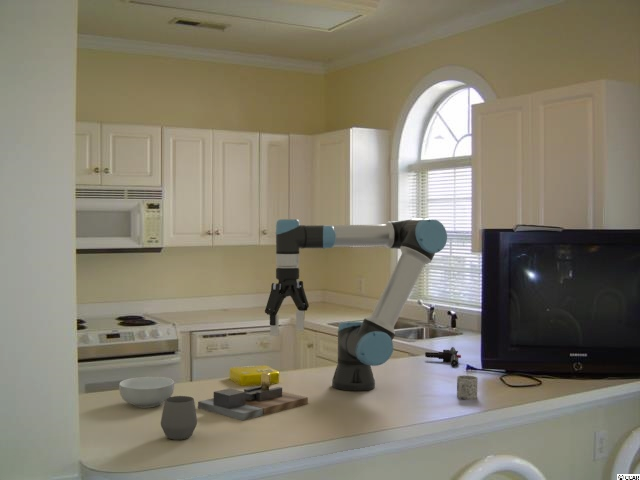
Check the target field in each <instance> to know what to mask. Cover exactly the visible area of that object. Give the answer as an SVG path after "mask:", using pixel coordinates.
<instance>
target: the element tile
mask: <svg viewBox="0 0 640 480" xmlns="http://www.w3.org/2000/svg"><path fill="white" fill-rule="evenodd" d="M262 373H270V385H274V384H279V383H280V371H278V370H276V369H274V368H272V367H270V366H268V365H265V364H263V365H247V366H235V367H234V366H233V367H230V368H229V380H230V381H232V382H234V383H235V384H237V385H238V386H241V387H248V386H249V387H250V386H252V387H253V386H261V374H262Z"/></svg>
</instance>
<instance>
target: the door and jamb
mask: <svg viewBox="0 0 640 480" xmlns="http://www.w3.org/2000/svg"><path fill="white" fill-rule="evenodd" d="M213 399H214V397H213V398H208V399H204V400H199V401H197V408H198V409H200V410H202V411H203V410H204V411H207V412H211V413H214V414H219V415H222V416H225V417H229V418H233V419H236V420H241V421H246V420H249V419H254V418H258V417H261V416H266V415H269V414H273V413H276V412H277V413H278V412H280V411H284V410H289V409H291V408H296V407H300V406H303V405H307V404H309V402H308V401H309V400H308V399H309V397H308V396H303V395H299V394H294V393H291V392H285V391H282V397H278V398H274V399H270V400H265V401H261V402H258V401H256V400H252V401H249V400H245V405H244V406H240V407H236V408H232V409H227V408H223V407H219V406H215V405H213Z"/></svg>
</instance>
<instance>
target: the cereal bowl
mask: <svg viewBox="0 0 640 480" xmlns="http://www.w3.org/2000/svg"><path fill="white" fill-rule="evenodd" d="M118 390H119V391H118V392H119V395H120V397H121V399H122V400H123V401H125V402H126V403H128V404H132V405H134V406H135V407H137V408H153V407H158V406H160V404H161V403H164V402H165V399H166V398H168V397H172V395H173V393H174V390H175V380H173V379H172V378H170V377H165V376H140V377H132V378H127V379H124V380H121V381H120V382H119V384H118Z"/></svg>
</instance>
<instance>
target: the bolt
mask: <svg viewBox="0 0 640 480" xmlns="http://www.w3.org/2000/svg"><path fill="white" fill-rule="evenodd" d="M260 386H261V389H259V390H254V391H250V392H246V395H245V400H249V401H252V400H256V392H258V391H263V390H267V389H271V384H270V373H262V374H261V385H260Z"/></svg>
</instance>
